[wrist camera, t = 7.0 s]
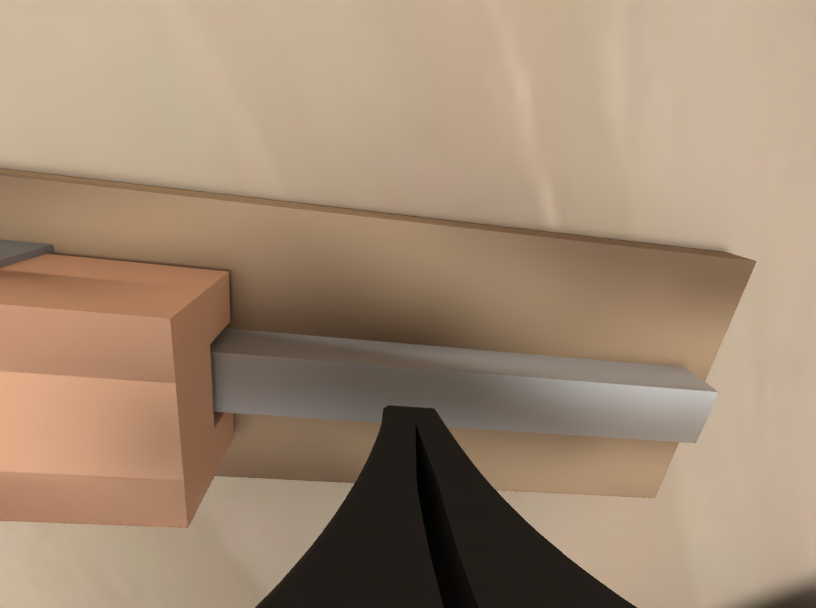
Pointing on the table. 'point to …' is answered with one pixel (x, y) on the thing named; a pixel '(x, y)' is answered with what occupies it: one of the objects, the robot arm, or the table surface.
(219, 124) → the table surface
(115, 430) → the slider block
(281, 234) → the rail board
